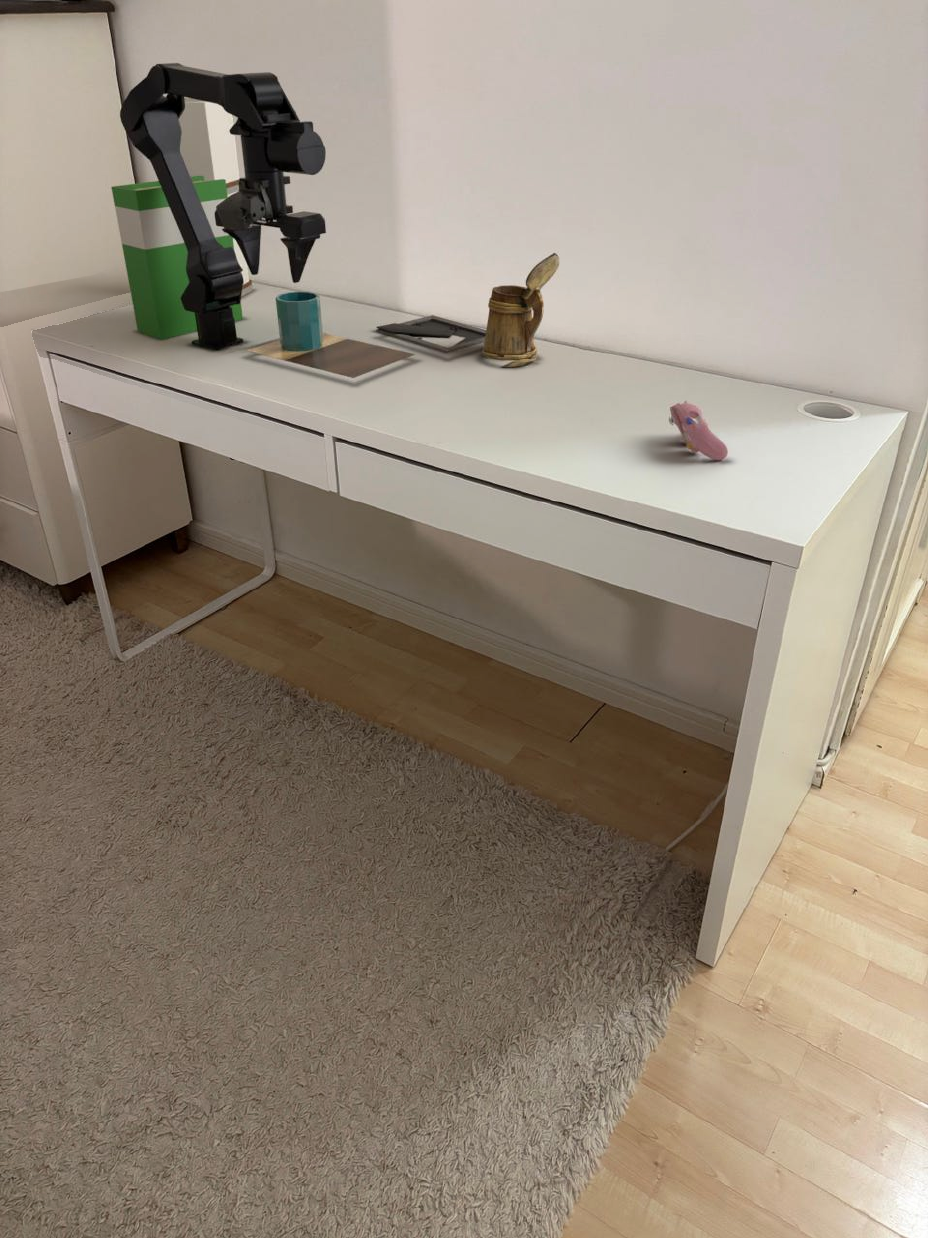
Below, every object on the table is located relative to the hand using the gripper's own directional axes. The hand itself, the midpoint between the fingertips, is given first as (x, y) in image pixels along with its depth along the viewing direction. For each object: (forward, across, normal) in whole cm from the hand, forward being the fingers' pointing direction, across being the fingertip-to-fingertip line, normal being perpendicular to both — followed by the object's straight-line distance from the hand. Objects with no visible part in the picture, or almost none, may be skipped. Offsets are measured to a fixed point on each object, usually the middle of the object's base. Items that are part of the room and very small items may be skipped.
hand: (275, 278), depth 150 cm
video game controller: (+13, +71, +4) cm, 72 cm away
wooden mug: (+13, +32, +22) cm, 41 cm away
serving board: (+13, +6, +5) cm, 15 cm away
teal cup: (+12, 0, +5) cm, 13 cm away
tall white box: (+13, -43, +23) cm, 50 cm away
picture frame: (+13, +14, +24) cm, 31 cm away
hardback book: (+13, -29, +5) cm, 32 cm away
